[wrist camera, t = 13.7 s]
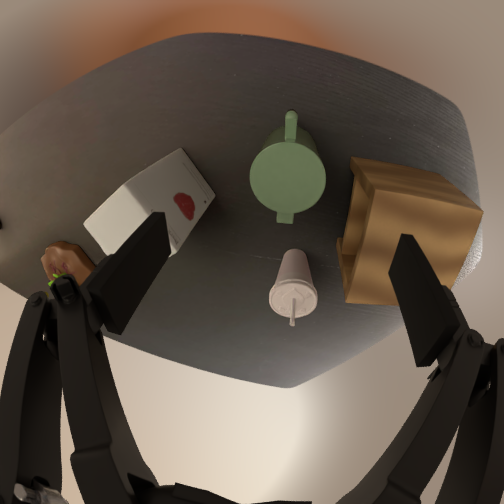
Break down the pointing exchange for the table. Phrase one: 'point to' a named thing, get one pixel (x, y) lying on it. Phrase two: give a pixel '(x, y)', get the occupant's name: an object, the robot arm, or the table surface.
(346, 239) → the stand
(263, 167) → the jug
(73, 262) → the plant
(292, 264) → the smoothie
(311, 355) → the table surface
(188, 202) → the rectangular carton
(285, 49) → the table surface
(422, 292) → the robot arm
